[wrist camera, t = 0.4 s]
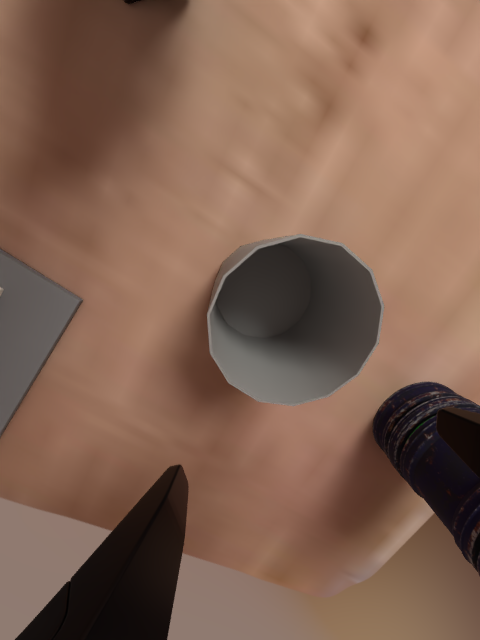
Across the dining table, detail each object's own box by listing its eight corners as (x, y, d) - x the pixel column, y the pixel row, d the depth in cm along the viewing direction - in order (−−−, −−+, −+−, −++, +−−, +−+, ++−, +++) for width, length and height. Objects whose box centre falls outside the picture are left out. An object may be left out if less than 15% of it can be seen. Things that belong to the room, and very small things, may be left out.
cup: (271, 218, 19) (320, 190, 10) (328, 295, 21) (414, 334, 12) (193, 287, 20) (168, 324, 11) (255, 353, 22) (278, 432, 13)
